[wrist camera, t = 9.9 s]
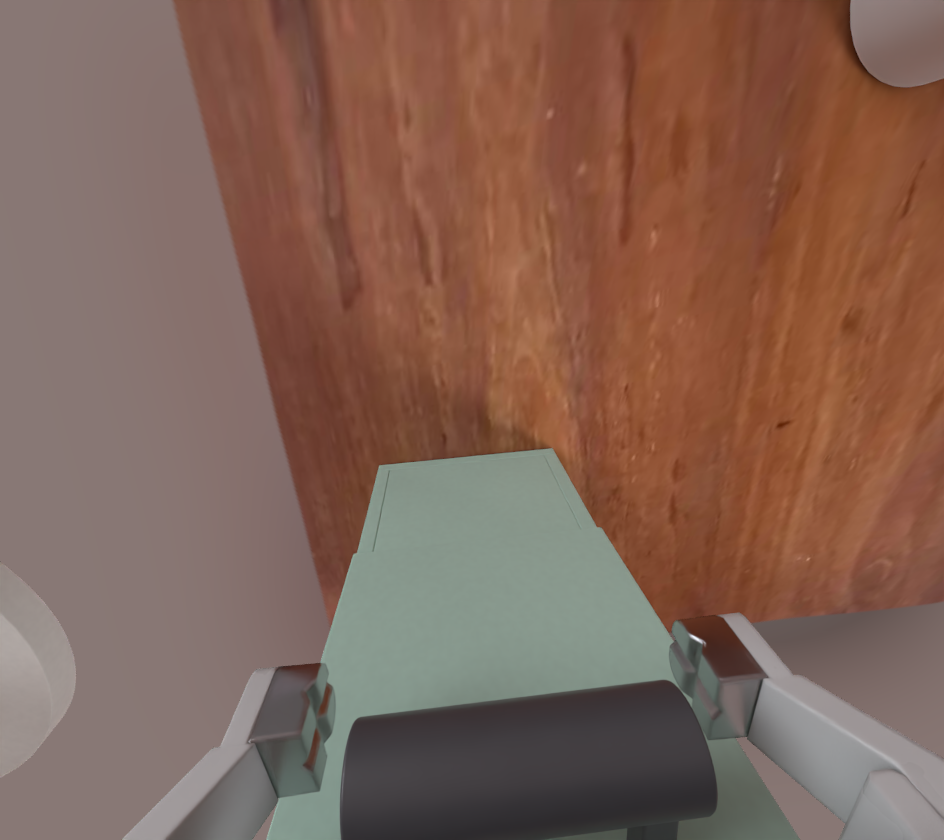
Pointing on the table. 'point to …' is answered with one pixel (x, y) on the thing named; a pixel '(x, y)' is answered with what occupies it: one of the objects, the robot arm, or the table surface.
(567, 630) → the lid
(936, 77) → the mug
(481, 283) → the table surface
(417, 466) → the light green open box
